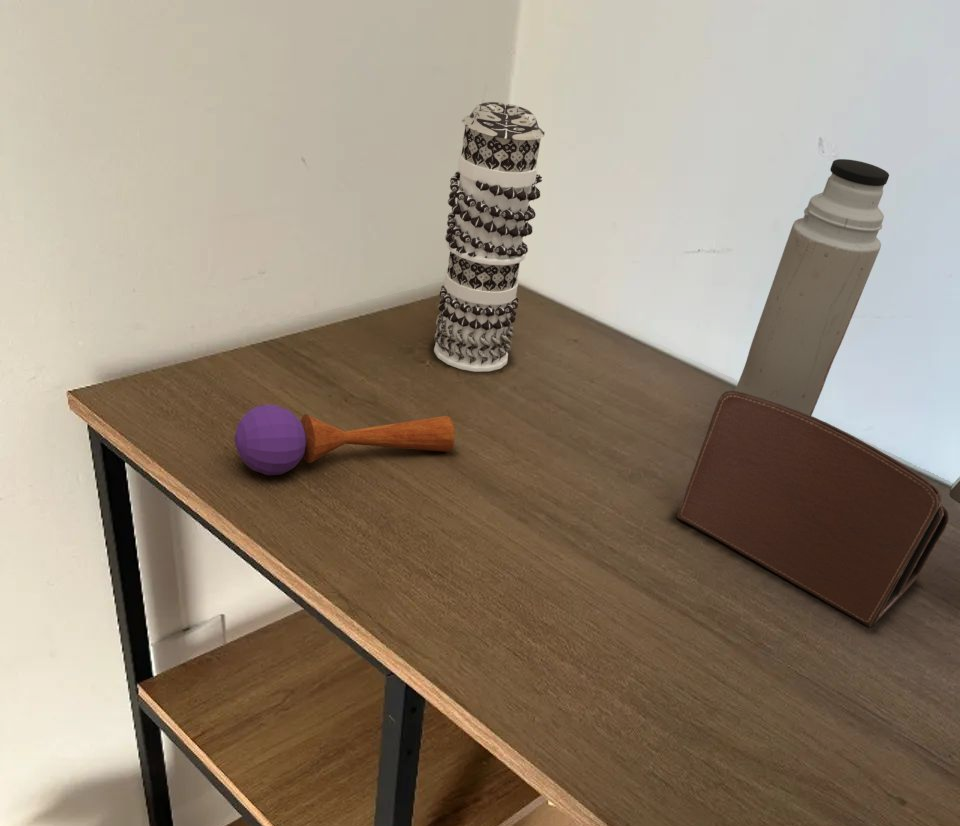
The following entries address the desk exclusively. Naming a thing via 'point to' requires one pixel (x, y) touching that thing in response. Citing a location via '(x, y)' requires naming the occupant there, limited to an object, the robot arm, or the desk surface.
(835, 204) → the thermos bottle
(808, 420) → the letter holder
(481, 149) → the white patterned cylinder
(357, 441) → the kendama
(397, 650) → the desk surface
